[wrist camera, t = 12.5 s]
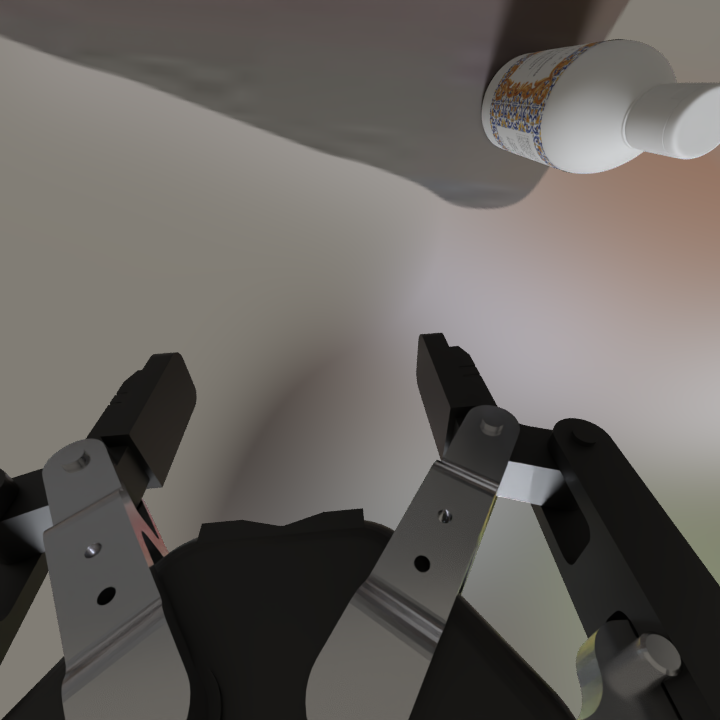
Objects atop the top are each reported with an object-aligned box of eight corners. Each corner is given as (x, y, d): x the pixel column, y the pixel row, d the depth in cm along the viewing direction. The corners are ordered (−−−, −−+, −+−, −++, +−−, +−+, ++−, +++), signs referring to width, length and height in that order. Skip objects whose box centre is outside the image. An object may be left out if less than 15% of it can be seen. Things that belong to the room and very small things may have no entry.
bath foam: (548, 32, 29) (812, -30, 14) (565, 120, 33) (786, 152, 17) (468, 87, 31) (618, 90, 15) (493, 164, 35) (634, 230, 19)
